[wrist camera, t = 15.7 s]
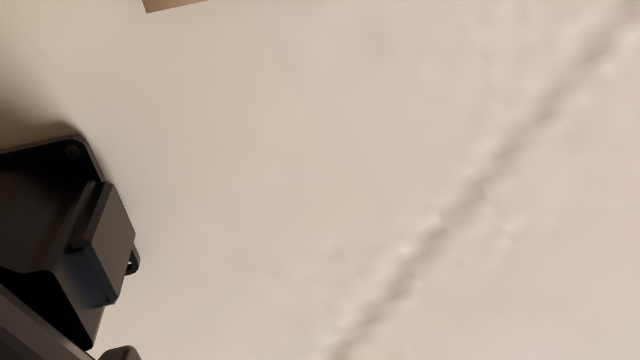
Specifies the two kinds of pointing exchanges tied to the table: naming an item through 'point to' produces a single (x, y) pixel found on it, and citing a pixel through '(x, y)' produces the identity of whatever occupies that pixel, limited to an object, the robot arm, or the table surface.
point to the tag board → (166, 4)
